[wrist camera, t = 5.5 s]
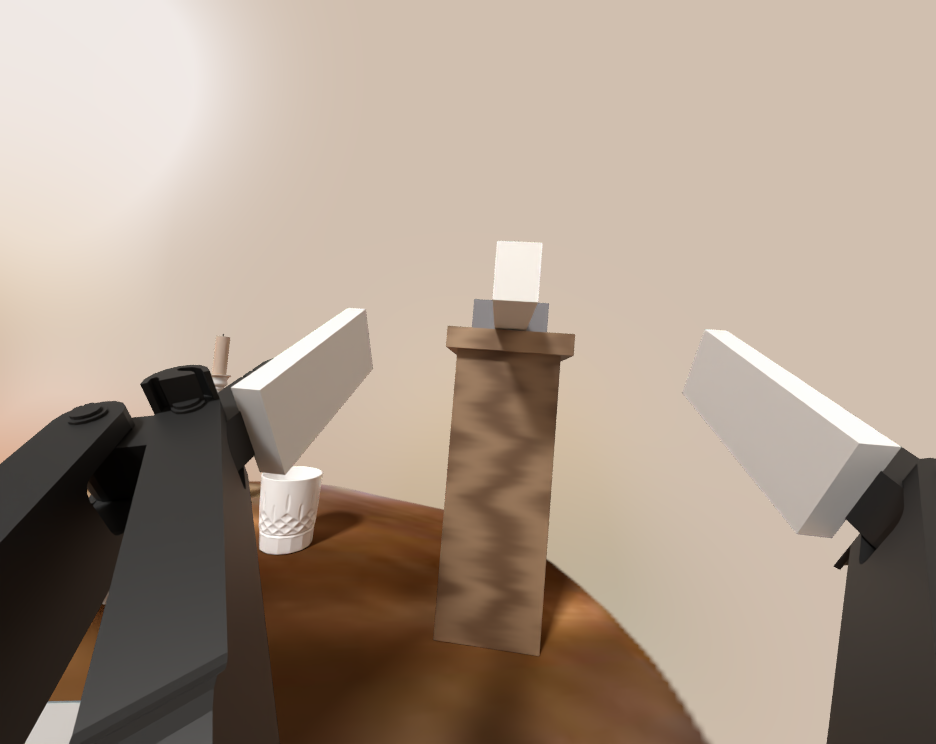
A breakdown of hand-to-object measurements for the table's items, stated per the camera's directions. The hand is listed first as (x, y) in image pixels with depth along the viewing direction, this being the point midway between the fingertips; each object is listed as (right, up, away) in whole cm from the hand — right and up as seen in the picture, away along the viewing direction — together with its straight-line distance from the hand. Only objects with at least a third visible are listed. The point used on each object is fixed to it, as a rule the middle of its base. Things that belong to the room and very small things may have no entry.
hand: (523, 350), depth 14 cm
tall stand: (0, -27, +25) cm, 37 cm away
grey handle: (+2, +3, +22) cm, 23 cm away
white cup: (-28, -26, +35) cm, 52 cm away
